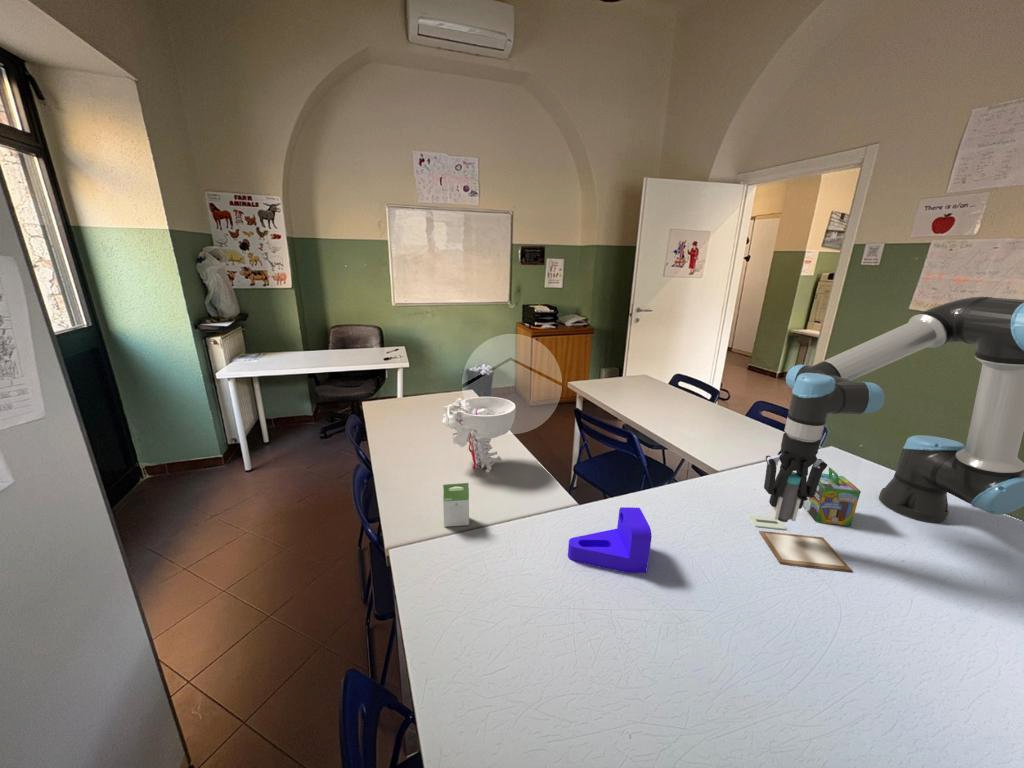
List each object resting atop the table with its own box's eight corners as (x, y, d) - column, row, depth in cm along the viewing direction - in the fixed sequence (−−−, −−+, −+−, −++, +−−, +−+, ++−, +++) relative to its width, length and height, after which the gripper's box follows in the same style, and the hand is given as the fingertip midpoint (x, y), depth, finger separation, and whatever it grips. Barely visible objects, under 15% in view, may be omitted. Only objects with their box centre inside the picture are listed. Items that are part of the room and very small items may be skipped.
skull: (510, 452, 153) (511, 395, 147) (517, 477, 136) (519, 414, 129) (444, 455, 150) (442, 397, 143) (442, 482, 132) (440, 417, 125)
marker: (786, 515, 107) (796, 471, 103) (793, 524, 104) (804, 479, 100) (771, 514, 108) (781, 470, 104) (777, 522, 104) (788, 478, 100)
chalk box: (851, 527, 114) (866, 481, 109) (814, 522, 116) (828, 477, 111) (834, 508, 122) (847, 465, 118) (800, 504, 124) (812, 461, 120)
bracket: (632, 542, 106) (637, 503, 103) (646, 573, 96) (652, 531, 92) (564, 541, 106) (567, 503, 102) (571, 573, 95) (574, 531, 92)
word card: (777, 519, 117) (777, 517, 117) (785, 530, 112) (786, 528, 112) (747, 516, 118) (748, 514, 118) (755, 526, 113) (755, 525, 113)
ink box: (469, 517, 115) (468, 475, 111) (469, 525, 111) (468, 483, 107) (444, 518, 114) (443, 476, 110) (444, 527, 110) (442, 484, 106)
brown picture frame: (822, 539, 109) (823, 537, 108) (851, 572, 97) (852, 569, 97) (758, 532, 111) (759, 530, 110) (779, 563, 99) (780, 561, 99)
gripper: (829, 431, 101) (809, 511, 108) (759, 427, 103) (743, 506, 111) (849, 444, 94) (825, 529, 101) (772, 440, 96) (754, 523, 103)
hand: (782, 517), depth 106 cm, fingers closed on marker, 3 cm apart
